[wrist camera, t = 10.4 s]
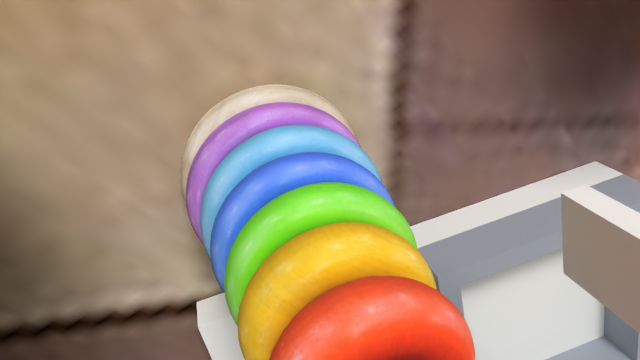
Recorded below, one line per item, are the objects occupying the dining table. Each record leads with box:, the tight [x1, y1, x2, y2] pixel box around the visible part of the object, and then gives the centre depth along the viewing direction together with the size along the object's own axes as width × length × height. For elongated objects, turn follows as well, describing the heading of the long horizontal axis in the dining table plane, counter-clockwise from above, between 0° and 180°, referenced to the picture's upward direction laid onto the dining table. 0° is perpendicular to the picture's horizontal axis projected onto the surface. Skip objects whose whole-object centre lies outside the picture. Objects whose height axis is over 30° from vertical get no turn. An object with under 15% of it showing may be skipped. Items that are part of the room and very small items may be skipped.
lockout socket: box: [417, 174, 640, 360], centre depth 27 cm, size 12×12×2 cm
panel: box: [197, 161, 623, 360], centre depth 29 cm, size 23×14×2 cm, turn 104°
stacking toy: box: [180, 84, 475, 360], centre depth 15 cm, size 8×8×19 cm
